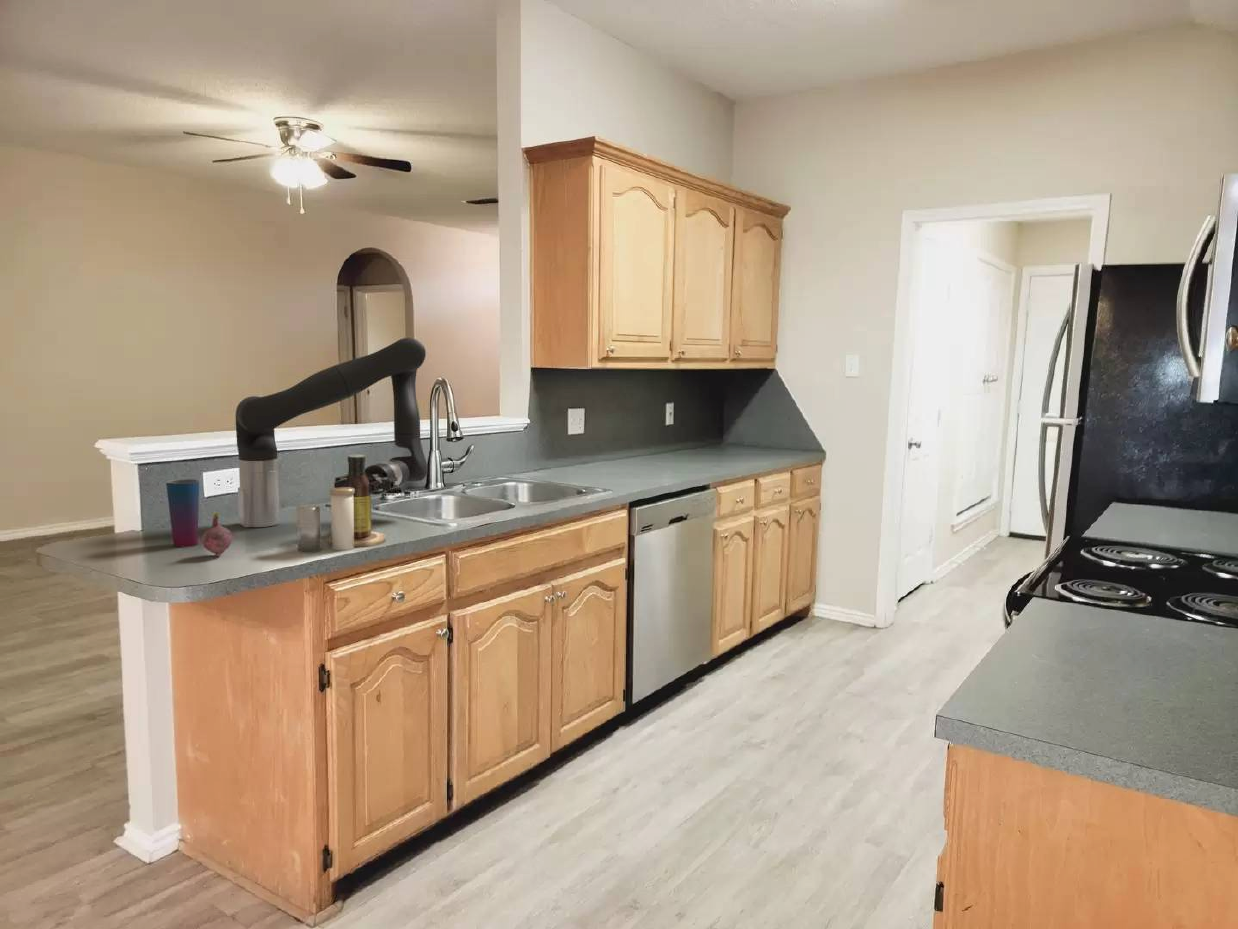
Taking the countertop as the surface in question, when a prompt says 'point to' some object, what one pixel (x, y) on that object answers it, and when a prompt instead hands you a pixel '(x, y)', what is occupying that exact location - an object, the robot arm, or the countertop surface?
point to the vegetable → (217, 537)
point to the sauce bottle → (360, 495)
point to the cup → (184, 510)
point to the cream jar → (342, 518)
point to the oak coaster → (368, 540)
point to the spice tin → (308, 528)
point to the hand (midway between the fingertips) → (353, 487)
